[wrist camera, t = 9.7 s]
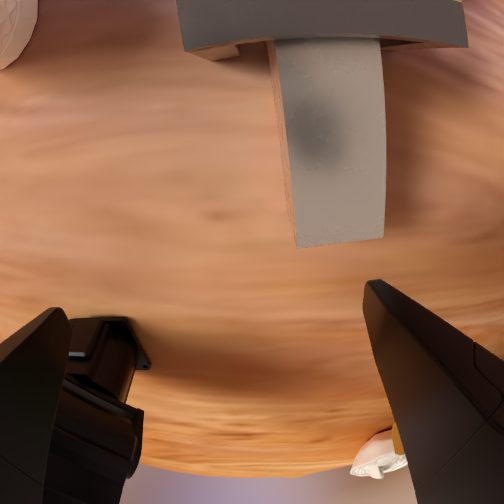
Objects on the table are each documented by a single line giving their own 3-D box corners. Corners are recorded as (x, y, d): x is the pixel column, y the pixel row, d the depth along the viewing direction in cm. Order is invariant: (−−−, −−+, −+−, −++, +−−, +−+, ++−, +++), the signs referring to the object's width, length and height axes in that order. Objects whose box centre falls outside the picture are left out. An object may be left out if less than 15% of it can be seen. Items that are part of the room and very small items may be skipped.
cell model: (425, 428, 38) (436, 463, 32) (356, 455, 41) (362, 490, 36) (418, 406, 34) (432, 448, 28) (336, 438, 37) (343, 480, 31)
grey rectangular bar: (355, 199, 19) (383, 237, 15) (286, 206, 19) (297, 248, 15) (316, -95, 9) (334, -133, 5) (241, -93, 9) (238, -134, 5)
